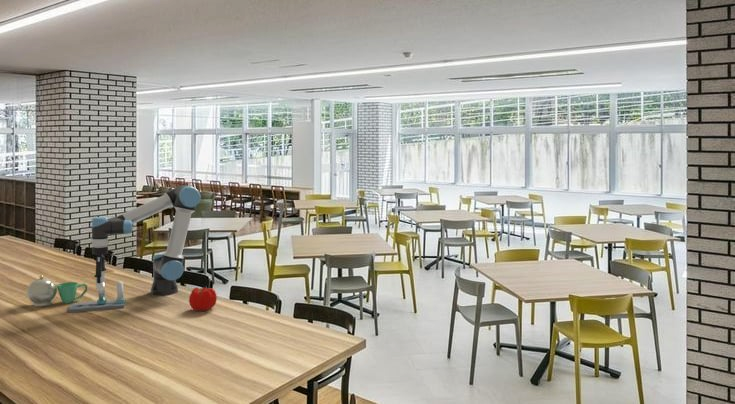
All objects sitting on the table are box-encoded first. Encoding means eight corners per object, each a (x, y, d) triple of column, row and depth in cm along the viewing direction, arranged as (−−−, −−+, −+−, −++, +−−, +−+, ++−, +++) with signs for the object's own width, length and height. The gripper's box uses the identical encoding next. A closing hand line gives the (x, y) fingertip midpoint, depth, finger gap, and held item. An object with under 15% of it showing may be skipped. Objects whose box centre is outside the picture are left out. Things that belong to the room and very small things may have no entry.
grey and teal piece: (125, 301, 292) (125, 279, 291) (124, 307, 281) (123, 284, 280) (72, 306, 283) (71, 283, 282) (68, 312, 272) (67, 288, 271)
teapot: (63, 304, 287) (62, 274, 286) (38, 310, 275) (37, 279, 274) (42, 299, 295) (41, 270, 294) (17, 305, 283) (16, 275, 281)
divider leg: (106, 301, 285) (106, 282, 284) (106, 303, 282) (105, 283, 281) (97, 302, 283) (97, 282, 282) (97, 304, 281) (96, 284, 280)
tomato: (221, 307, 284) (221, 286, 283) (203, 314, 271) (202, 292, 270) (202, 304, 289) (202, 283, 288) (183, 311, 276) (182, 289, 275)
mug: (58, 305, 284) (58, 287, 283) (56, 301, 292) (56, 283, 291) (89, 301, 292) (88, 283, 292) (86, 297, 300) (86, 280, 300)
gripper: (95, 243, 290) (95, 281, 292) (88, 250, 267) (89, 292, 269) (110, 242, 293) (110, 280, 295) (105, 250, 270) (105, 291, 271)
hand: (100, 286), depth 282 cm, fingers open, 13 cm apart
